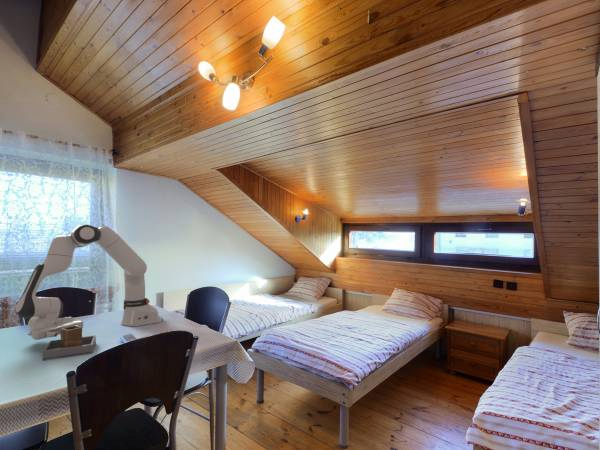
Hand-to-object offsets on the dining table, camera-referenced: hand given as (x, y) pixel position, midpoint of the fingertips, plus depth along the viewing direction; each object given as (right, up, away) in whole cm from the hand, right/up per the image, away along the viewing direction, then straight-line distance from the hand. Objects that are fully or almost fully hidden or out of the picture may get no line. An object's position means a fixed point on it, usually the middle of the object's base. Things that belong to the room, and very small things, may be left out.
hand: (66, 332), depth 149 cm
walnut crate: (+4, -7, -2) cm, 8 cm away
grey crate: (+4, -8, -2) cm, 9 cm away
